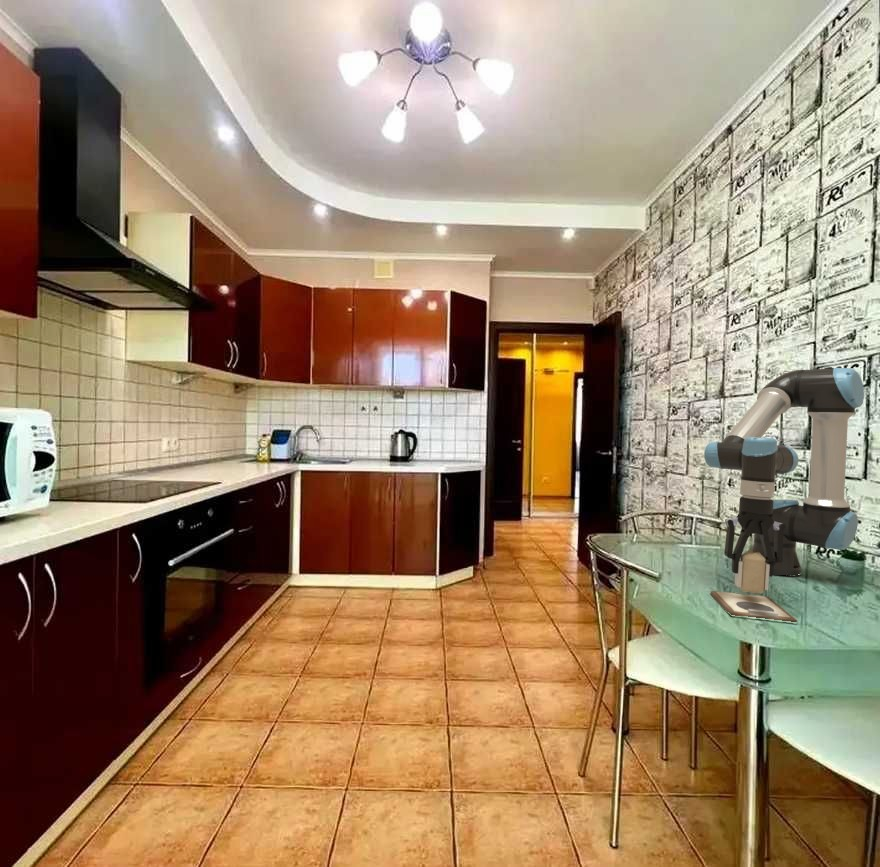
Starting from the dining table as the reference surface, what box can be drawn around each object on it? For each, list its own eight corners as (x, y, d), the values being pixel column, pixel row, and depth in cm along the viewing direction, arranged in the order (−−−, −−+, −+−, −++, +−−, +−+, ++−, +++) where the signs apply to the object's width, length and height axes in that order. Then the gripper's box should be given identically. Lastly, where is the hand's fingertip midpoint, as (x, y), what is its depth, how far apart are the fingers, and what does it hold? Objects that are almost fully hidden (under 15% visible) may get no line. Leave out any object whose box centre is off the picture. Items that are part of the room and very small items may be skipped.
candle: (734, 586, 141) (736, 548, 141) (753, 587, 141) (756, 549, 141) (748, 593, 135) (750, 554, 135) (768, 594, 136) (770, 554, 136)
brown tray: (767, 600, 142) (768, 592, 142) (797, 624, 125) (797, 616, 125) (710, 594, 145) (710, 586, 145) (730, 617, 128) (731, 608, 128)
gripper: (721, 496, 136) (716, 587, 137) (803, 502, 132) (797, 595, 133) (713, 492, 144) (708, 579, 144) (790, 498, 140) (785, 587, 140)
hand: (751, 587), depth 138 cm, fingers closed on candle, 5 cm apart
